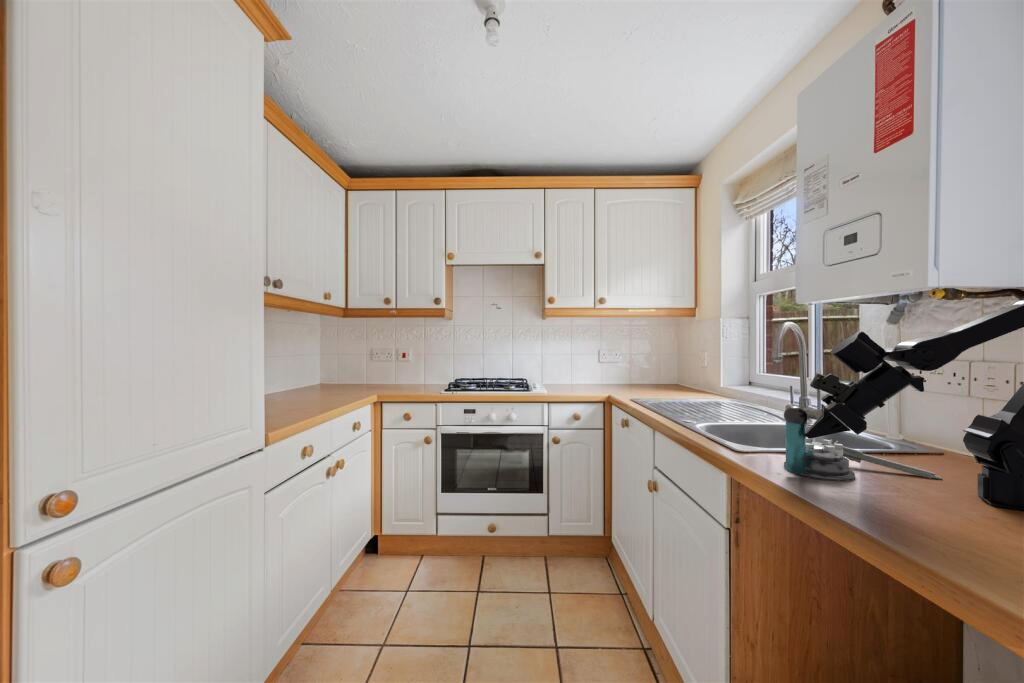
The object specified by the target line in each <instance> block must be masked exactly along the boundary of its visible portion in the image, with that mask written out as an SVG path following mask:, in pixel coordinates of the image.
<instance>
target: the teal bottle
mask: <svg viewBox="0 0 1024 683" xmlns="http://www.w3.org/2000/svg"><path fill="white" fill-rule="evenodd" d="M783 418H784V421H785V461H786V469H785V470H786V471H787V472H789V473H792V472H793V473H792V474H794V473H806V458H811V459H817V460H825V461H840V460H843V446H844V445H843V444H842V443H838V444H837V443H835V442H833V444H834V445H832V441H831V439H821V442H817V441H813V438H811V439H809V438H808V437H806V432H807V430H806V428H807V427H806V426H807V422H808V420H809V415H808V412H807V411H806V409H804V408H802V407H800V406H797V405H793V406H789V407H788V408H786V409H785V410H784V412H783Z"/></svg>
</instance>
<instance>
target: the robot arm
mask: <svg viewBox="0 0 1024 683" xmlns="http://www.w3.org/2000/svg"><path fill="white" fill-rule="evenodd" d="M1023 328H1024V299H1021V300H1018V301H1017V302H1015V303H1014V304H1011V305H1008V306H1007V307H1004V308H1001V309H999V310H997V311H995V312H992V313H989V314H987V315H984V316H982V317H979V318H977V319H975V320H972V321H970V322H966V323H964V324H962V325H959V326H957V327H954V328H952V329H950V330H948V331H945V332H941V333H936V334H932V335H926V336H921V337H917V338H912V339H909V340H904V341H902V342H900V343H898V344H897V345H895V346H894V347H882V346H880V345H879V344H878V343H877V342H875V341H874V340H873V339H872V338H871V337H870V336H869V335H868V334H867V333H865V332H864V331H857V332H855V333H854V334H853V335H851V336H849V337H847V338H845V339H844V340H842V341H839V342H838V343H836V345H835V346H834V347H832V348H831V350H830V353H829V354H831V356H833V357H834V358H835V359H837V361H839V362H840V363H842V365H844V366H845V367H846V368H848V369H849V370H850V371H852V372H853V373H854V374H858V373H861V372H862V374H864V376H863V377H861V378H860V379H858V380H857V381H856V380H854V381H853V380H851V381H850V382H848V383H847V384H846V383H844V382H842V381H840V376H837V375H834V374H832V373H828V374H827V375H824V374H822V373H819V372H816V374H815V375H814V376H813V378H812V380H811V382H810V383H809V387H811V388H813V389H814V390H817V391H818V390H819V391H822V392H824V393H827V394H825V395H824V396H822V397H821V398H820V400H821V401H822V402H823V403H825V404H826V405H824V404H823V403H821V404H820V407H821V414H820V415H819V417H818V418H817V419H816V420H815V421H814V423H813V424H812V425H811V426H810V428H808V430H806V438H809V439H814V438H819V437H825V436H828V435H829V436H830V435H833V434H838V433H844V432H851V431H852V432H853V433H854V434H856V435H860V434H861V433H863V432H865V431H866V430H867V428H868V427H867V425H868V424H867V421H866V417H865V416H867V415H868V414H869V413H871V412H872V411H874V410H876V409H877V408H880V409H881V408H882V407H884V406H885V405H886V404H885V403H886V402H887V401H889V400H890V399H892V398H893V397H895V396H896V395H897V394H899V393H900V392H902V391H903V390H905V389H906V388H908V387H909V386H910V387H911V388H912V389H914V390H916V391H919V392H921V393H922V392H925V385H924V382H925V377H924V376H922V375H913V374H912V373H911V372H910V371H908V370H915V371H923V372H931V371H935V370H938V369H940V368H942V367H944V366H945V365H948V364H949V363H951V362H952V361H954V360H956V358H958V357H959V356H960V355H962V353H964V352H965V351H967V350H969V349H971V348H974V347H976V346H978V345H981V344H984V343H987V342H989V341H992V340H994V339H997V338H999V337H1003V336H1005V335H1007V334H1010V333H1012V332H1015V331H1018V330H1019V329H1023ZM889 362H894V363H896V364H897V366H895V365H894V366H893V365H891V364H890V363H889ZM907 369H908V370H907ZM865 374H866V375H865ZM962 431H963V432H964V433H965V434H964V436H963V437H962V438H963V439H962V442H963V443H964V446H965V448H966V450H967V451H968V452H969V453H971V454H972V455H973V457H974V460H975V462H976V463H977V464H980V465H981V473H980V472H979V473H977V495H978V496H979V497H980V498H981V499H983V500H984V501H985V502H987V503H988V504H989V505H991V506H993V507H999V508H1006V509H1013V510H1018V511H1019V510H1020V511H1024V382H1023V383H1022V385H1020V387H1019V388H1018V389H1017V391H1016V392H1015V393H1014V394H1013V395H1012V396H1011V398H1010V399H1009V401H1007V403H1006V404H1005V405H1004V407H1002V409H1000V411H998V412H997V413H994V414H993V415H990V416H988V415H984V414H977V415H976V416H974V418H973V420H972V422H971V424H970V425H968V427H966V428H963V430H962Z"/></svg>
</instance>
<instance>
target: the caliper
mask: <svg viewBox="0 0 1024 683" xmlns="http://www.w3.org/2000/svg"><path fill="white" fill-rule="evenodd" d="M830 440H831V441H832V445H834V443H837V444H839V440H836V441H835V442H834V441H833V439H832V438H830ZM843 457H845V458H847V459H848V460H849V461H852V462H856V463H859V464H860V463H861V462H862V461H864V462H867V463H871V464H874V465H878V466H883V467H886V468H889V469H893V470H896V471H900V472H903V473H908V474H910V475H913V476H914V475H915V476H918V477H921V476H923V477H922V478H925V477H929V478H928V479H932V478H934V479H937V480H940V479H943V477H942V476H940V475H936V473H935V472H934V471H933V472H932V471H929V470H925V469H922V468H919V467H914V466H911V465H906V464H904V463H900V462H896V461H894V460H893V461H892V460H888V459H885V458H881V457H877V456H874V455H870V454H866V453H864V452H863V451H861V450H858V449H855V448H851V447H847V446H844V445H843Z"/></svg>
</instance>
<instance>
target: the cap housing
mask: <svg viewBox="0 0 1024 683" xmlns="http://www.w3.org/2000/svg"><path fill="white" fill-rule="evenodd" d="M783 468H784V469H785V470H786V460H785V461H784V462H783ZM791 473H792V474H794V473H793V472H791ZM797 474H798V475H797ZM795 475H797V476H802V477H805V478H809V477H810V479H815V480H820V481H828V482H829V481H830V482H851V481H853V480H855V479H856V474H855V472H854V471H853V470H851V469H850V460H849V459H848V458H847V457H843V460H840V461H825V460H817V459H811V458H806V473H795Z"/></svg>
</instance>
